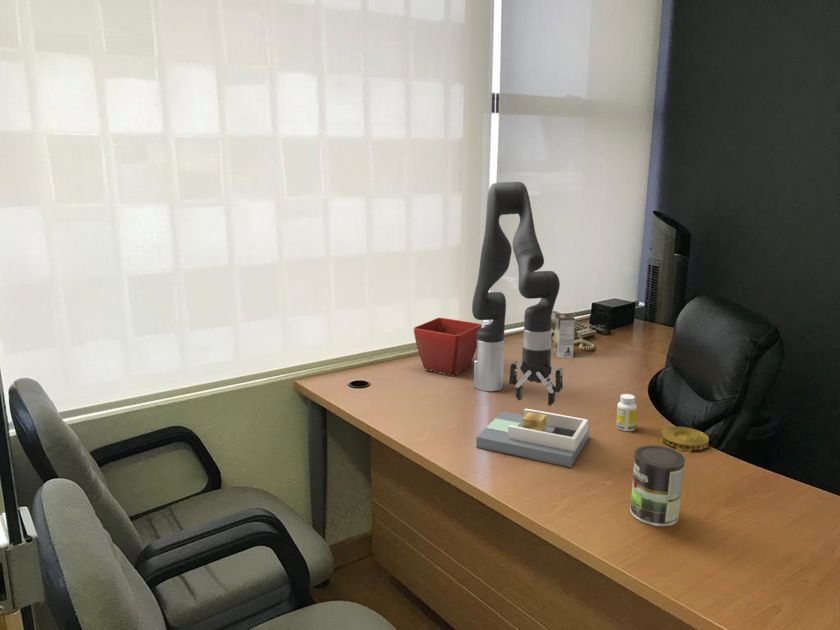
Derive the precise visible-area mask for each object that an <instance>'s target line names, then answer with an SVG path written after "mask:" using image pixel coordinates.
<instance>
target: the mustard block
mask: <svg viewBox="0 0 840 630" xmlns="http://www.w3.org/2000/svg"><path fill="white" fill-rule="evenodd" d="M523 428H528V429H533V430H538V431H543V432H545V429H546V415H542V414H536V413H530V412H528V413H527V415H526V416H525V417H524V418H523Z"/></svg>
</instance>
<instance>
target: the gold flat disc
mask: <svg viewBox="0 0 840 630" xmlns="http://www.w3.org/2000/svg"><path fill="white" fill-rule="evenodd" d="M660 439H661V442H662V443H665V444H666V445H669V446H671V447H673V448H676V451H677V450H678V451H683V452H688V453H689V452H692V451H699V450H704V449H706V448H707V449H708V448H709V443H710V442H709V441H710V438H709V436H708V434H706V433H704V432H702V431H701V430H698V429H695V428H691V427H686V426H669V427H665V428H664V429H662V431H661V438H660Z"/></svg>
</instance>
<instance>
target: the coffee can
mask: <svg viewBox="0 0 840 630" xmlns="http://www.w3.org/2000/svg"><path fill="white" fill-rule="evenodd" d="M685 463H686V458H685V456H684V455H683V454H682V453H680V452H679V451H677V450H675V449H674V448H673V449H672V448H670V447H666V446H662V445H653V444H652V445H642V446H639V447H637V448H636V449H635V450H634V462H633V475H632V485H631V486H632V488H631V498H630V506H629V507H630V508H629V511H630V512H629V513H630V514H631V515H632V517H634V518H635V519H636V520H637V519H638V521H639V522H641V523H644V524H646V525H649V526H654V527H661V528H662V527H664V528H665V527H670V526H673V525H675V524H677V523H678V522H679V519H680V514H679V513H680V505H681V497H682V487H683V478H684V470H685V469H684V468H685Z"/></svg>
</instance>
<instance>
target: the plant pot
mask: <svg viewBox="0 0 840 630" xmlns="http://www.w3.org/2000/svg"><path fill="white" fill-rule="evenodd" d="M481 328H482V323H476V322H473V321H472V322H470V321H465V320H458V319H453V318H452V319H451V318H445V317H437V318H434V319H432V320H430V321H427V322H424V323H422V324H419V325H417V326H415V327H413V335H414V339H415V343H416V348H417V351H418V355H419V357H420V360H421V364H422V366H423V368H424V370H425V369H427V370H432V371H436V372H441V373H445V374H450V375H455V376H457V375H458V374H457V373H459V372H460V373H462V372H464V371H466V370H467V369H468V367H469V368H470V366H471V364H472V362H473V360H474V357H475V354H476V351H477V331H478V330H479V329H481ZM466 368H467V369H466ZM427 370H426V371H427ZM463 370H464V371H463ZM461 371H462V372H461ZM436 372H435V373H436ZM441 373H440V374H441ZM460 373H459V374H460ZM445 374H444V375H445ZM456 374H457V375H456ZM450 375H449V376H450Z"/></svg>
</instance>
